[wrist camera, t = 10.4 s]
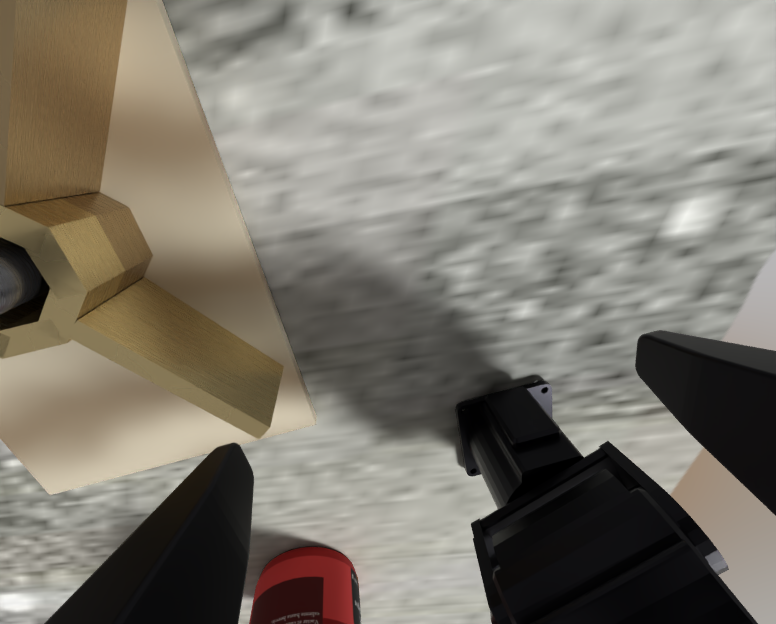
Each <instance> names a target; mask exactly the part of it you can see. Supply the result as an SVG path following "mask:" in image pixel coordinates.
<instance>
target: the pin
mask: <svg viewBox="0 0 776 624" xmlns="http://www.w3.org/2000/svg"><path fill="white" fill-rule="evenodd" d="M49 291H50V287H49V285H48V284H47V282H46V281H45V279H44V277H43V276H42V274H41V273H40V271H39V270H38V268H37V267H36V265H35V264H34V262H33V260H32V259H31V257H30V256H29V254H28V253H27V251H26V250H25V248H24V247H22V246H19V245H17V244H15V243H13V242H10V241H8V240H6V239H4V238H0V314H2V313H4V312H6V311H8V310H11V309H13V308H15V307H17V306H19V305H21V304H23V303H25V302H27V301H30V300H32V299H34V298H36V297H38V296H40V295H42V294H44V293H46V292H49Z"/></svg>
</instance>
